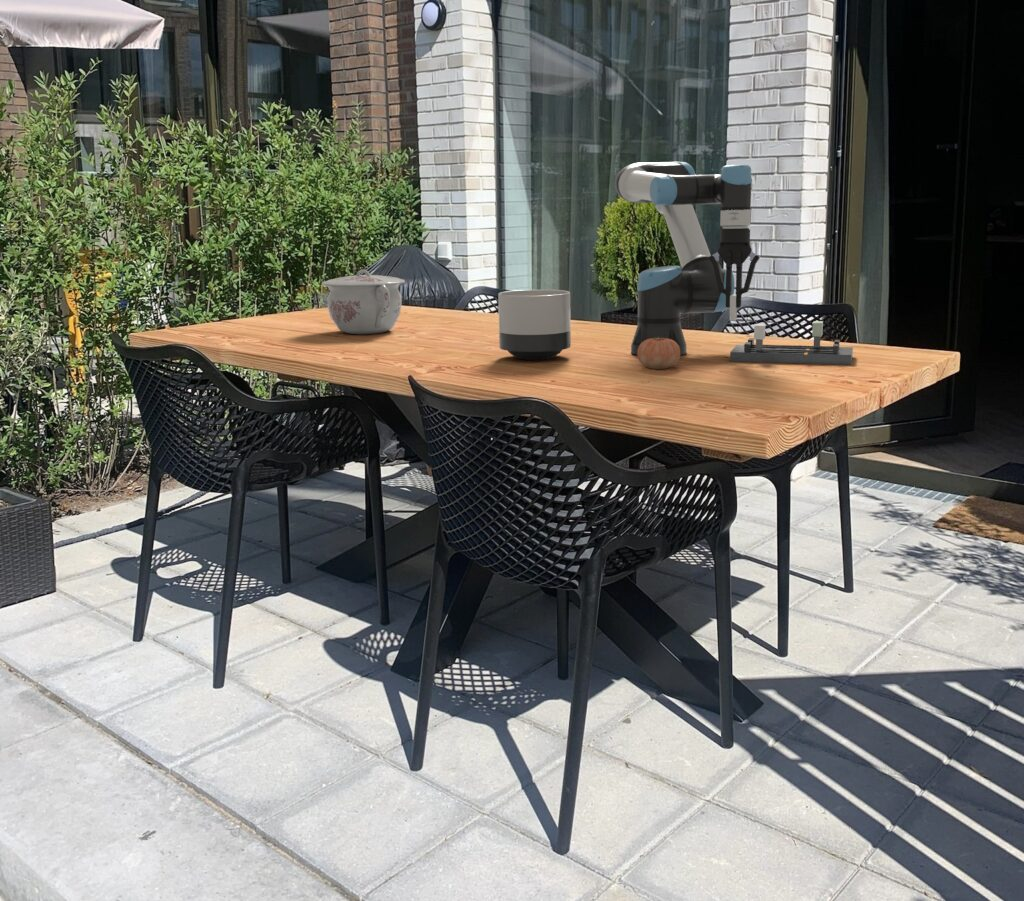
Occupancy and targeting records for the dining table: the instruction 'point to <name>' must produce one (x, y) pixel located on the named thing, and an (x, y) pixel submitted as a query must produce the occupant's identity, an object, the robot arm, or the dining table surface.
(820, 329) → the fader
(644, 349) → the small orange pumpkin
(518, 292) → the planter
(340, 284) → the chamber pot
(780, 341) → the dining table surface
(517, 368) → the dining table surface
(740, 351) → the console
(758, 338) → the fader
